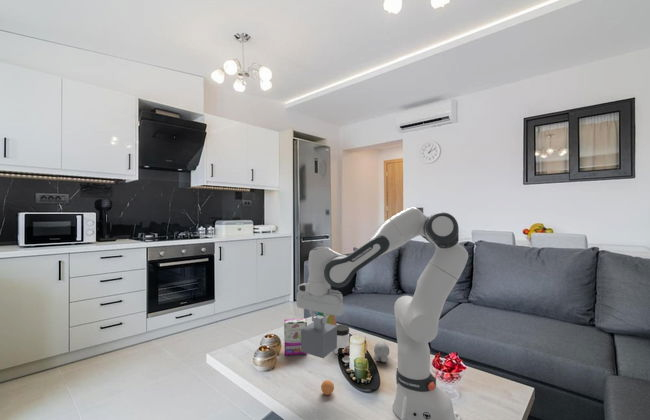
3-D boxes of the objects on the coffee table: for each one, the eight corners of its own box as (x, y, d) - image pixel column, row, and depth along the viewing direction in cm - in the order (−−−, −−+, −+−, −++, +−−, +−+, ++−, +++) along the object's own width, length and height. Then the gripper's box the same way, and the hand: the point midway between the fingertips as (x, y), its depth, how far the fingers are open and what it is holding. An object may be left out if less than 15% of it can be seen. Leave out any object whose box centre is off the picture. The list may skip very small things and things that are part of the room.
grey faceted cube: (336, 347, 122) (336, 315, 122) (323, 358, 113) (323, 324, 113) (315, 341, 127) (315, 311, 127) (301, 351, 119) (301, 318, 119)
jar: (338, 356, 148) (338, 332, 148) (329, 350, 155) (329, 326, 155) (352, 352, 153) (353, 328, 153) (343, 345, 160) (343, 323, 160)
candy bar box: (306, 350, 155) (306, 318, 155) (307, 354, 150) (307, 321, 150) (284, 351, 153) (284, 318, 153) (284, 356, 148) (284, 322, 148)
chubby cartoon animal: (391, 362, 148) (393, 343, 151) (386, 363, 138) (388, 343, 141) (377, 359, 151) (379, 340, 154) (370, 360, 141) (373, 340, 144)
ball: (336, 392, 120) (336, 379, 119) (329, 399, 115) (330, 386, 115) (325, 387, 122) (325, 375, 122) (318, 395, 118) (318, 382, 117)
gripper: (346, 289, 117) (346, 325, 117) (303, 282, 128) (303, 315, 128) (338, 293, 112) (338, 330, 112) (294, 285, 123) (294, 319, 123)
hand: (319, 322), depth 120 cm, fingers closed on grey faceted cube, 3 cm apart
